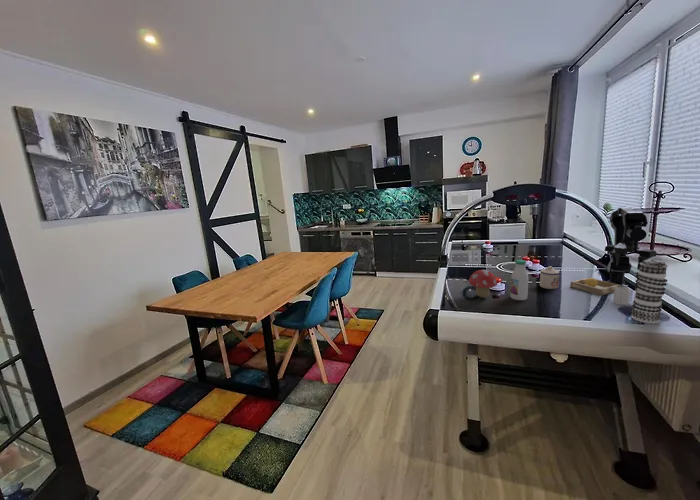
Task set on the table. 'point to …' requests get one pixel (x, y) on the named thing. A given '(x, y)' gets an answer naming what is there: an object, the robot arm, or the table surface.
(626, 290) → the cup
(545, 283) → the teacup with lid
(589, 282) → the ball
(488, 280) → the decorative mushroom
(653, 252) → the robot arm
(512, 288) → the milk bottle
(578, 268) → the table surface
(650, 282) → the decorative candle
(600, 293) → the tray
